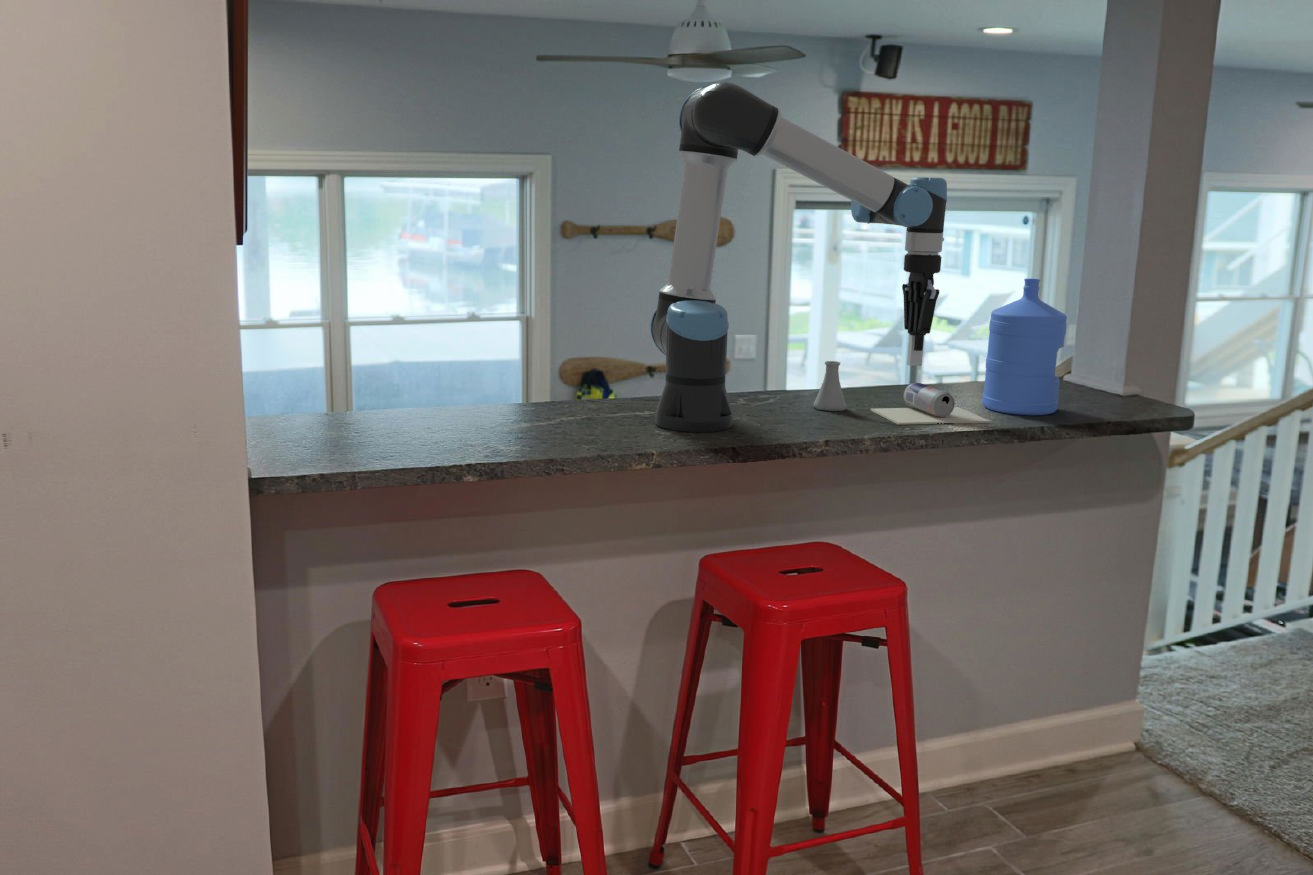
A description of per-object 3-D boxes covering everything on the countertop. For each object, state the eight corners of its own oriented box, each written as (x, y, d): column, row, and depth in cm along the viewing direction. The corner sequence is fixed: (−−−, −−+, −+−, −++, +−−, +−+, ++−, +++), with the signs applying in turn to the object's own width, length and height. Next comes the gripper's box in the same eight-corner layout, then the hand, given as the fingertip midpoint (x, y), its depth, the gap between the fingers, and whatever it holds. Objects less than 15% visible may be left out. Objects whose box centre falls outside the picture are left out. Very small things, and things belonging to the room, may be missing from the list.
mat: (898, 424, 221) (898, 422, 220) (870, 410, 234) (870, 408, 234) (989, 422, 225) (989, 420, 225) (957, 408, 238) (957, 407, 238)
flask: (845, 406, 238) (848, 360, 236) (848, 412, 231) (851, 365, 229) (812, 404, 239) (814, 358, 237) (813, 411, 232) (816, 364, 230)
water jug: (1013, 418, 230) (1027, 282, 224) (966, 403, 244) (978, 276, 238) (1073, 414, 236) (1088, 282, 229) (1024, 400, 250) (1036, 275, 244)
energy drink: (928, 388, 237) (959, 398, 226) (917, 410, 238) (947, 422, 227) (909, 377, 235) (940, 388, 224) (898, 400, 236) (928, 411, 225)
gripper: (954, 255, 225) (944, 370, 230) (925, 251, 237) (917, 360, 242) (920, 255, 223) (911, 370, 228) (893, 250, 236) (885, 360, 241)
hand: (914, 365), depth 235 cm, fingers closed
